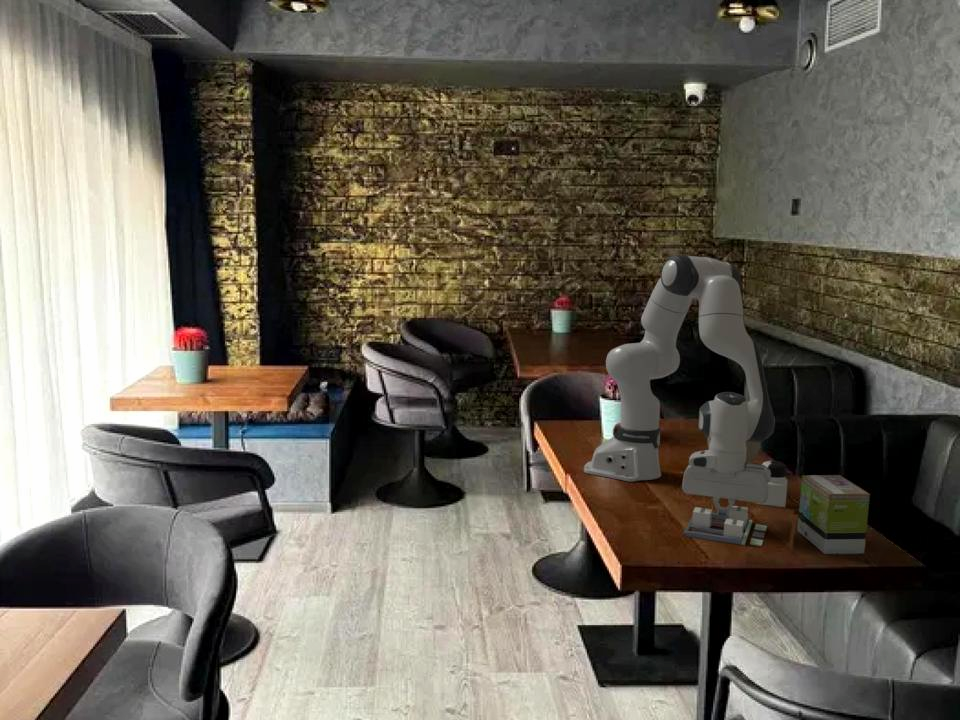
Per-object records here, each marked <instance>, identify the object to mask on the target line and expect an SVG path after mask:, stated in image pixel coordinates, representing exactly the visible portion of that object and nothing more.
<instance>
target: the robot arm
mask: <svg viewBox="0 0 960 720" xmlns="http://www.w3.org/2000/svg"><path fill="white" fill-rule="evenodd" d="M741 283H742V276H741V271H740V270H739V267H737V266H736V265H734V264H733V263H730V262H728V261H723V260H722V261H721V260H720V259H715V258H711V257H707V256H691V255H686V254H674V255H671V256H669V257H668V258H667V259H666V260H665V262H664V263H663V265H662V267H661V271H660V278H659V279H658V281H657V282H656V284H655V286H654V288H653V289H652V292H651V295H650V297H649V299H648V301H647V303H646V306H645V308H644V310H643V313H642V316H641V318H640V324H641V326H642V328H643V329H644V330H645V331H644V336H643V339H642V340H641V341H640V342H635V343H634V342H632V343H624V344H621V345H619V346H617V347H614V348H613V349H610V351H609V352H608V353H607V355H606V359H605V368H606V371H607V373H608V375H609V377H610V378H611V379H612V380H614V382H615V383H616V386H617V388H618V391H619V397H620V421H619V422H617V423H615V424H614V427H613V429H612V437H611V438H609V439H607V440H606V441H605V442H603V443H602V444H600V445H598V446H597V447H596V449H594V452H593V455H592V458H591V460H590V461H588V462H587V463H585V464H584V466H583V472H584V473H585V474H590V475H595V476H598V477H599V476H600V477H603V478H605V477H606V478H610V479H616V480H621V481H625V482H639V481H648V480H649V481H651V480H656V479H659V478H661V476H662V472H661V469H660V461H659V460H660V459H659V447H660V442H661V441H660V440H661V429H660V427H659V425H660V424H659V423H660V411H661V410H660V409H661V408H660V407H661V404H660V400H659V399H658V397H656V396H655V394H653V391H652V389H651V388H652V387H651V380H657V379H663V378H665V377H667V376H670V375H671V374H673V373H675V372H676V371H677V370H678V368H679V366H680V363H681V357H680V353H679V350H678V349H677V339H678V334H679V332H680V330H681V327H682V325H683V323H684V321H685V318H686V316H687V313H688V311H689V309H690V306H691V304H692V301H693V300H694V299H695V300H696V299H697V301H698V333H699V338H700V340H701V342H702V344H704V346H706V348H708V349H709V350H710V351H712V352H713V353H716V354H718V355H719V356H723V357H725V358H727V359H730V360H732V361H734V362H735V363H737V364H738V365H740V367H741V368H742V370H743V371H744V374H745V380H746V385H747V390H748V395H749V400H748V399H747V397H746V396H745V395H742V394H740V393H736V392H733V391H723V392H720V393H717V394H716V395H715V396H714V398H713V400H707V401H705V402H704V403H703V404H702V405H701V406H700V407H699V409H698V421H697V430H698V431H699V432H700V433H701V434H703V435H704V437H706V438H708V437H709V438H711V442H710V444H709V448H708V449H705V450H699V451H695V452H693V453H692V454H691V455H690V456H689V459H688V466H687V467H686V469H685V470H684V473H683V478H682V484H681V490H682V491H683V493H684V494H689V495H697V496H703V497H710V498H712V503H713V504H714V507H715V508H716V513H717V515H721V516H729V510H730V508H731V507H732V506H734V504H735V502H736V501H740V502H741V501H742V502H749V503H754V504H755V503H756V504H757V503H761V504H763V503H765V502H766V501H767V499H768V482H769V481H770V479H771V471H770V469H769V468H767V467H765V465H762V464H763V463H762V464H761V463H759V464H757V463H754V462H752V463H746V451H747V448H746V440H747V441H752V442H760V443H761V444H762V442H763V443H764V441H766V440H767V439H769V438H770V437H771V436H772V435H773V433H774V432H775V426H776V421H775V415H774V411H773V407H772V404H771V400H770V396H769V391H768V387H767V381H766V377H765V372H764V366H763V360H762V357H761V352H760V348H759V346H758V343H757V341H756V339H754V338H752V337H751V336H750V335H749V334H748V332H747V330H746V327H745V324H744V323H745V322H744V305H743V299H742V294H741V293H742V292H741ZM745 467H746V468H745ZM765 468H766V469H765ZM720 499H726V500H727V504H728V505H727V507H725V506H721V504H720V503H719V501H720ZM761 504H760V505H761Z"/></svg>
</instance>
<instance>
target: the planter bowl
mask: <svg viewBox="0 0 960 720" xmlns="http://www.w3.org/2000/svg"><path fill="white" fill-rule="evenodd" d="M710 442H711V438H709V437H707V447H708V448H707V449H709V444H710ZM761 444H762V442H761V443H760V442H752V441H747V440H746V448H747V451H746V463H754V461H755V460H756V459H757V456H758V455H759V453H760V450H761ZM745 468H746V467H745Z"/></svg>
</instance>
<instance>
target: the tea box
mask: <svg viewBox="0 0 960 720" xmlns="http://www.w3.org/2000/svg"><path fill="white" fill-rule="evenodd" d="M800 483H801V485H800V495H799V496H800V498H799V508H798V509H799V510H798V519H797V520H798V521H797V533H800V534H801V535H802V536H803V537H804V538H806V540H808V541H809V542H810V543H811V544H813V546H815V547H816V548H817V549H818V550H819V551H820V552H822V554H824V555H858V554H859V555H862V554H865V548H866V538H867V527H868V518H869V507H870V497H871V494H870V493H868V492H867V491H866V490H864V489H863V488H861V487H860V486H858V485H856V484H854V483H853V482H851V481H850V480H848V479H847V478H845V477H843V476H842V475H840V474H820V475H819V474H818V475H817V474H811V475H807V474H806V475H803V474H802V476H801V482H800ZM837 553H838V554H837Z"/></svg>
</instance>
